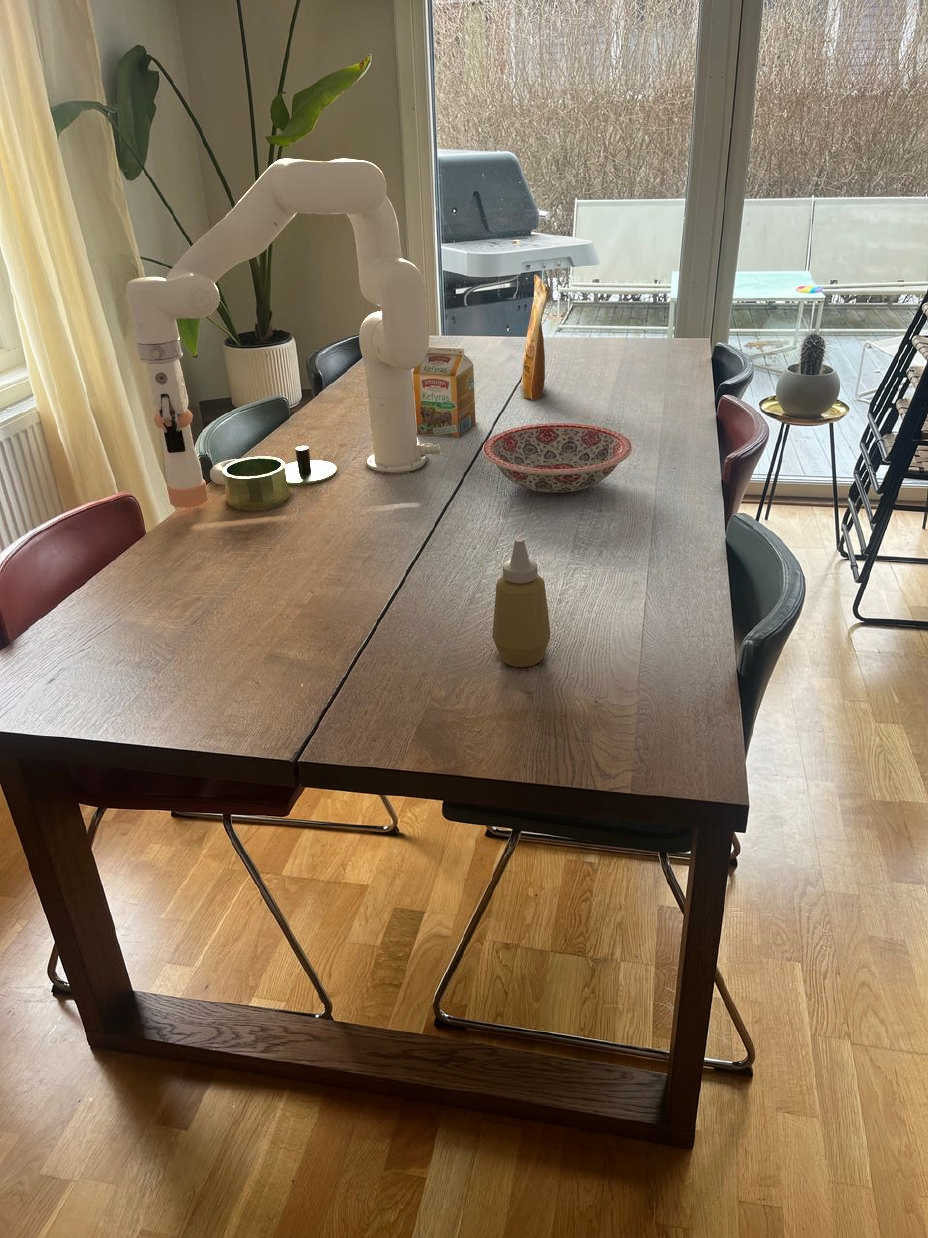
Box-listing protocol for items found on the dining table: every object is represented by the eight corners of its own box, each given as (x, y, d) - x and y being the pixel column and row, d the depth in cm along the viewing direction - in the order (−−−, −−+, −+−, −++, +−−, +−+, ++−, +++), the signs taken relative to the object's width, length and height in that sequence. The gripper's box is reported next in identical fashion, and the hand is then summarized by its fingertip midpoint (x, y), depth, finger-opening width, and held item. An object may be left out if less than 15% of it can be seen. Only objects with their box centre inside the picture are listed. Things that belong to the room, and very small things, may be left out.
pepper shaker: (188, 510, 181) (169, 411, 172) (162, 503, 185) (141, 406, 176) (216, 497, 187) (198, 400, 177) (190, 491, 190) (171, 396, 181)
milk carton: (417, 433, 222) (411, 351, 213) (435, 420, 231) (430, 340, 222) (458, 437, 219) (454, 353, 209) (475, 423, 227) (472, 342, 218)
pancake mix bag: (547, 381, 257) (546, 272, 243) (549, 401, 240) (549, 285, 227) (522, 381, 257) (520, 273, 244) (522, 402, 241) (521, 286, 227)
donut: (203, 488, 198) (248, 489, 195) (200, 472, 196) (245, 473, 194) (223, 471, 206) (266, 471, 204) (220, 456, 204) (263, 456, 202)
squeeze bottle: (490, 645, 137) (485, 529, 128) (545, 640, 137) (545, 525, 128) (496, 675, 129) (492, 555, 121) (555, 670, 130) (555, 550, 121)
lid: (335, 463, 207) (332, 435, 204) (338, 484, 196) (334, 455, 193) (274, 468, 206) (270, 441, 203) (274, 490, 194) (270, 461, 191)
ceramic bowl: (647, 467, 196) (649, 430, 192) (604, 521, 173) (605, 479, 169) (516, 453, 207) (515, 417, 203) (459, 501, 185) (457, 462, 181)
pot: (289, 486, 196) (284, 454, 193) (289, 508, 186) (284, 474, 182) (229, 492, 195) (224, 460, 191) (226, 514, 184) (220, 480, 181)
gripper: (176, 359, 165) (195, 458, 173) (185, 337, 180) (202, 430, 188) (132, 363, 164) (153, 462, 172) (144, 341, 179) (163, 433, 187)
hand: (178, 444), depth 180 cm, fingers closed on pepper shaker, 6 cm apart
